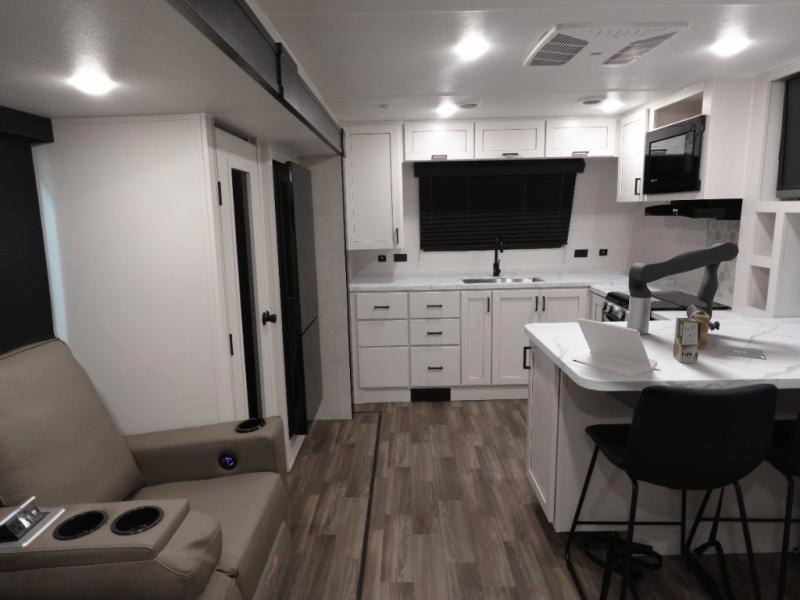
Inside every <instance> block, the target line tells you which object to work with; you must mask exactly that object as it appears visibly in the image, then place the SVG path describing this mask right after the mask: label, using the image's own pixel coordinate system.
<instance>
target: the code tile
mask: <svg viewBox="0 0 800 600" xmlns="http://www.w3.org/2000/svg"><path fill="white" fill-rule="evenodd" d="M716 347H717V351H718V355H721V356H730V357H739V358H747V359H756V360H757V359H758V360H766V359H767V356H766V355H765V353H764V351H763V349H760V348H759V349H758V348H749V347H740V346H729V345H720V344H717V345H716ZM763 353H764V354H763ZM761 356H762V357H764V358H762V357H761ZM766 361H767V360H766Z"/></svg>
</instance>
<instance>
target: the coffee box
mask: <svg viewBox="0 0 800 600" xmlns="http://www.w3.org/2000/svg"><path fill="white" fill-rule="evenodd" d="M675 318H676V319H675V327H674V328H675V329H674V339H673V341H674V342H673V352H672V353H673V354H672V357H673V358H674V359H676V360H677V361H678V362H679V363H682V364H698V357H699V350H700V349H699V340H700V331H701V322H699V321H698V320H696V319H694V318H688V317H675Z"/></svg>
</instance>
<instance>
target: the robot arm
mask: <svg viewBox="0 0 800 600" xmlns="http://www.w3.org/2000/svg"><path fill="white" fill-rule="evenodd" d="M739 253H740V249H739V246H738V245H737V244H736V243H735V242H732V241H723V242H722V241H721V242H716V243H713V244H712V245H711V246H710V247H709V248H702V249H695V250H687V251H684V252H683V251H682V252H679V253H676V254H674V255H671V257H669V258H668V259H666V260H664V261H661V262H654V263H647V262H635V263H633V264H632V265H631V266H630V268H629V270H628V271H629V272H628V292H629V304H628V312H627V318H626V319H627V320H626V327H627V328H632V329H636V330H638V331H639V333H640V335H646V334H645V333H647V334H649V329H650V328H649V327H650V316H651V307H652V305H651V304H652V293H653V292H652V291H651V290H650V288H649V287H648V284H651V283H653V282H656V281H659V280H661V279H664V278H666V277H669V276H671V277H672V276H675V275H679V274H684V273H687V272H691V271H694V270H698V269H700V268H701V269H702V268H704V267H705V269H704V273H703V278H702V281H701V285H700V287H699V289H698V292H697V295H696V300H697V301H699V302H701V303H703V304H704V305H705V306H702V305H699V304H690V305H689V306H688V307H687V308H686V318H694V314H701V315H709V317H710V318H709V328H708V330H710V331H711V332H712V331H715V330H717V331H720V325H721V324H720V322H719V321H717V320H716V321H714V322H712V321H711V320H712V317H713V306H714V305H713V303H714V299H715V297H716V294H717V291H718V287H719V280H718V278H719V277H718V269H719V267H720V265H721V263H724V262H730V261H732V260H735V258H737V257H738V255H739Z"/></svg>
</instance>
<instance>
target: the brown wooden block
mask: <svg viewBox="0 0 800 600" xmlns="http://www.w3.org/2000/svg"><path fill="white" fill-rule="evenodd" d="M709 318H710V317H709V315H701V314H694V319H696V320H698V321H699V322H701V331H700V340H699V350H704V351H706V350H707V345H708V344H707V343H708V336H709V329H708V328H709Z"/></svg>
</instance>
